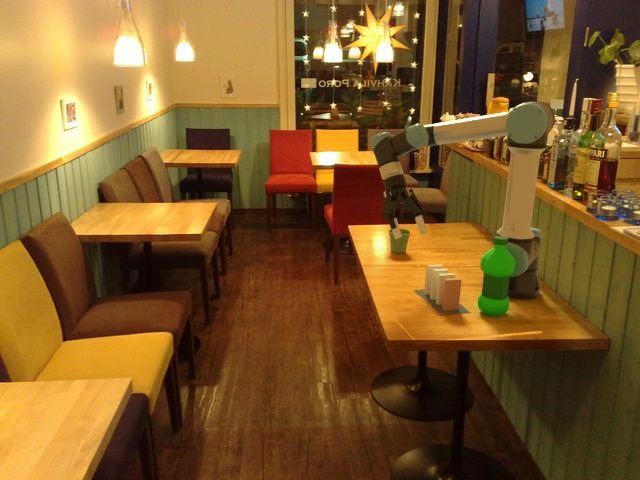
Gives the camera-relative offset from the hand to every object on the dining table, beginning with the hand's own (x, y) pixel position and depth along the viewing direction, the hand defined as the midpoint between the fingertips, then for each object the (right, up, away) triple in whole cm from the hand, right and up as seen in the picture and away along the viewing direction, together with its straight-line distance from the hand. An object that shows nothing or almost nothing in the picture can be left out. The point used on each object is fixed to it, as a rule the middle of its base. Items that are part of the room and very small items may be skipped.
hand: (411, 236), depth 205 cm
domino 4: (+10, -23, -12) cm, 28 cm away
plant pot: (+2, -6, +48) cm, 48 cm away
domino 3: (+9, -22, -8) cm, 25 cm away
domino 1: (+7, -19, 0) cm, 21 cm away
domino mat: (+9, -22, -6) cm, 24 cm away
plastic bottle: (+23, -25, -14) cm, 37 cm away
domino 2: (+8, -21, -4) cm, 23 cm away
